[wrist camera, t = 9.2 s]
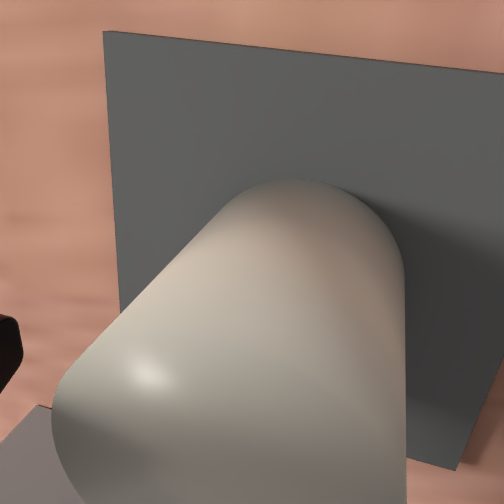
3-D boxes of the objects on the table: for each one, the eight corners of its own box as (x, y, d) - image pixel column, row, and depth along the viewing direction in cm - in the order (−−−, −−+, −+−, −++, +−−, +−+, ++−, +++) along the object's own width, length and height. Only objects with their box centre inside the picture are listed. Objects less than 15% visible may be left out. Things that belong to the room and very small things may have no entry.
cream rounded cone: (312, 390, 13) (253, 637, 8) (169, 278, 13) (8, 457, 7) (454, 275, 10) (503, 527, 5) (277, 132, 10) (148, 249, 5)
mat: (453, 459, 13) (455, 471, 13) (130, 370, 15) (124, 378, 15) (608, 84, 8) (616, 87, 8) (112, 30, 11) (102, 31, 10)
